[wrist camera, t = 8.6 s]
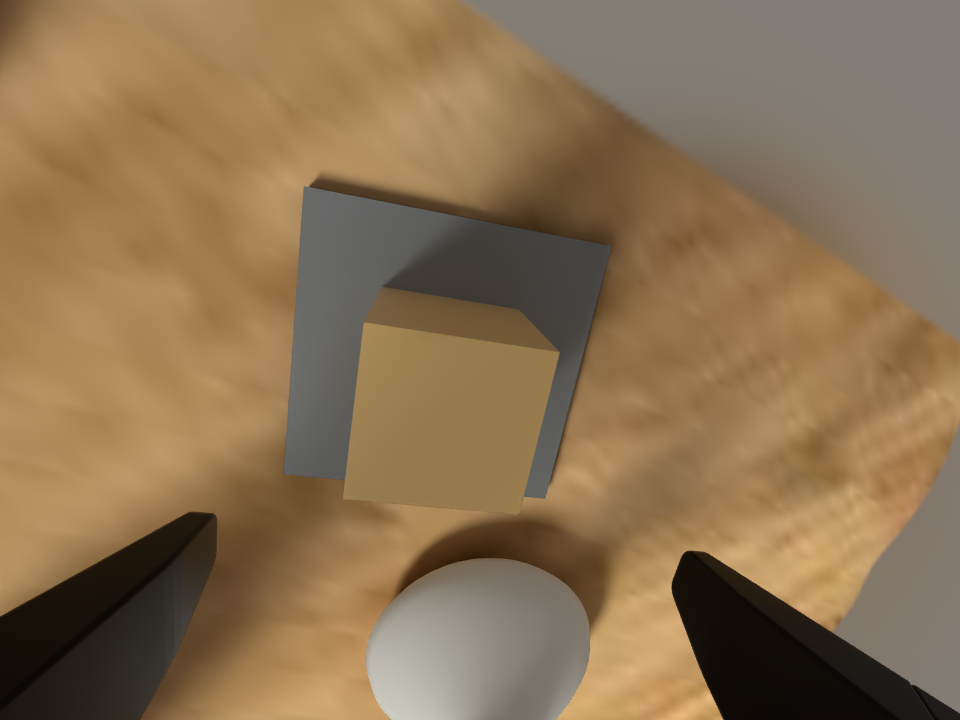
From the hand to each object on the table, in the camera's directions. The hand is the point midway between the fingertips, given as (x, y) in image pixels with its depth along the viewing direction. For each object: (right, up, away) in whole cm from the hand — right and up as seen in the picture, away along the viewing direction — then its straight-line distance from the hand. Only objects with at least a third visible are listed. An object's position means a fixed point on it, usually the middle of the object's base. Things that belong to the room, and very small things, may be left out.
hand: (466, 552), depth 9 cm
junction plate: (-1, +4, +11) cm, 12 cm away
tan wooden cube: (-1, +3, +11) cm, 11 cm away
